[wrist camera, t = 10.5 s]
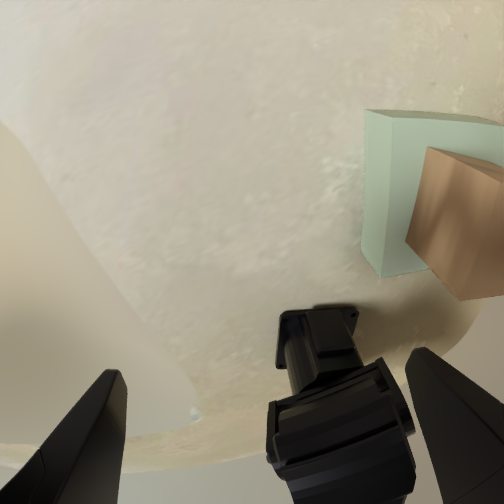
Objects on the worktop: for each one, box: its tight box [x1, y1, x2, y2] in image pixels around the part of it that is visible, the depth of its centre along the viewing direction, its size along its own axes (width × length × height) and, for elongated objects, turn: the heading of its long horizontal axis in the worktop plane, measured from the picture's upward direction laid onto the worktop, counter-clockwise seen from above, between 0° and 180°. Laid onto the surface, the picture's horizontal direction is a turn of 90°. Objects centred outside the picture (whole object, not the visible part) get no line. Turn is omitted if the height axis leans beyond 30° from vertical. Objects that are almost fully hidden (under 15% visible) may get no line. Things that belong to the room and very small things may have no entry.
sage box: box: [360, 110, 504, 278], centre depth 19 cm, size 10×10×4 cm
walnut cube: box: [405, 146, 504, 301], centre depth 14 cm, size 6×6×6 cm
